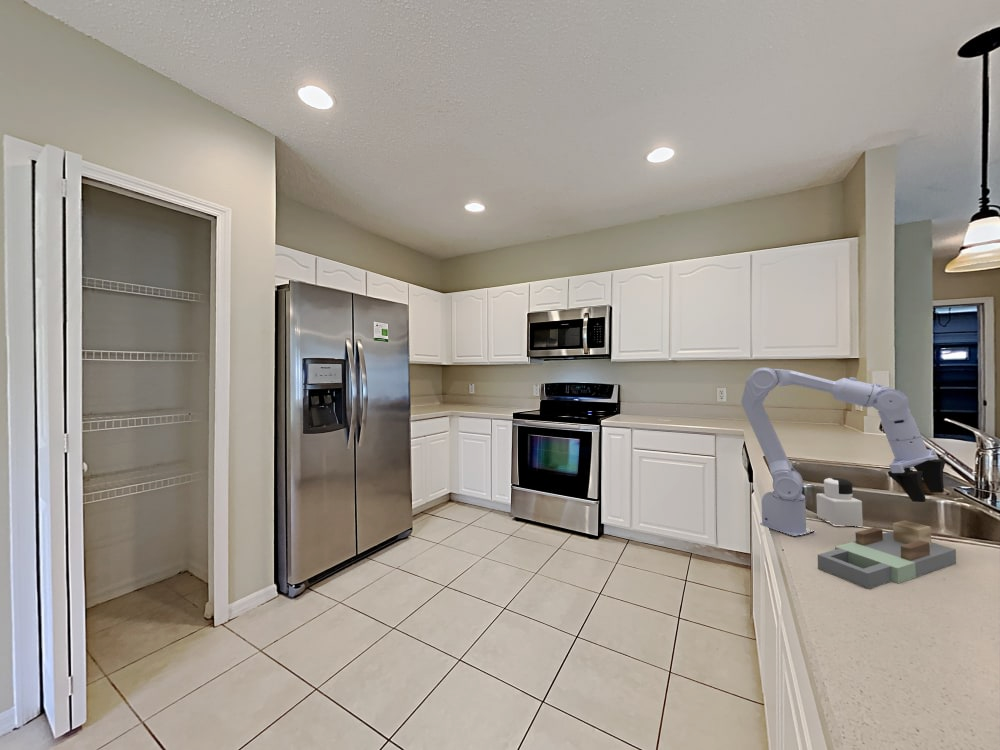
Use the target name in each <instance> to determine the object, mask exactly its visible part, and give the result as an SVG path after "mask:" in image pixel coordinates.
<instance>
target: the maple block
mask: <svg viewBox="0 0 1000 750" xmlns="http://www.w3.org/2000/svg"><path fill="white" fill-rule="evenodd" d="M931 529H932V528H931V526H928V525H924V524H920V523H917V522H913V521H909V520H906V519H904V520H901V521H897V522H893V523H892V532H893V538H894V541H897V542H900V543H903V544H909V543H912V542H916V541H919V540H921V541H924V542H928V543H929V545H931V543H932V530H931Z"/></svg>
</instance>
